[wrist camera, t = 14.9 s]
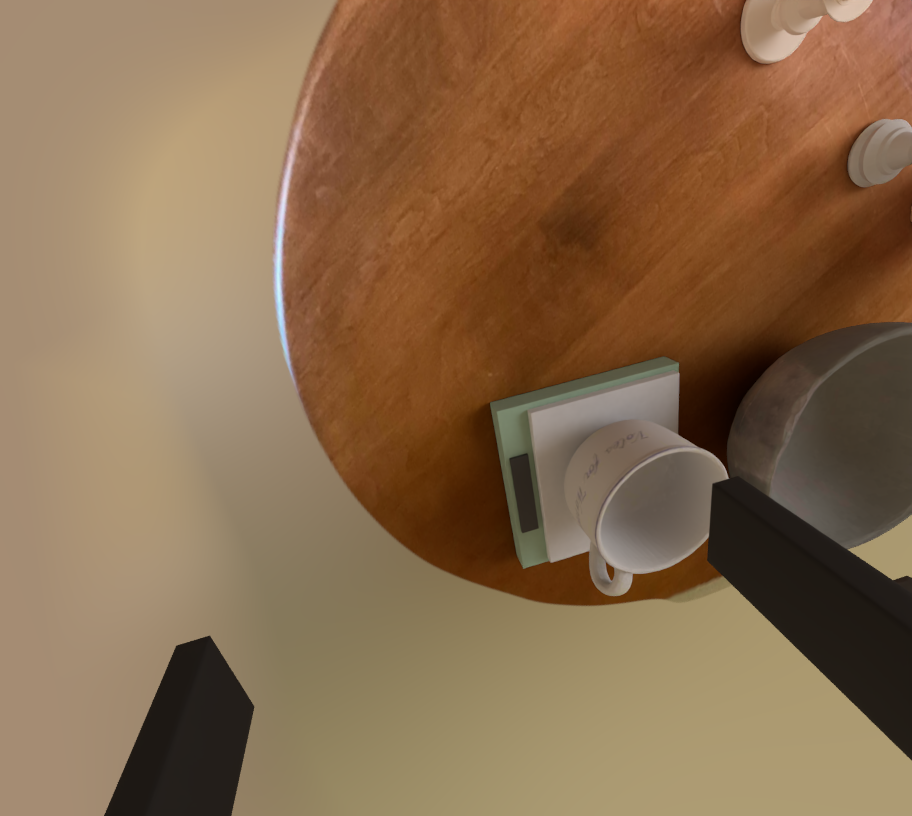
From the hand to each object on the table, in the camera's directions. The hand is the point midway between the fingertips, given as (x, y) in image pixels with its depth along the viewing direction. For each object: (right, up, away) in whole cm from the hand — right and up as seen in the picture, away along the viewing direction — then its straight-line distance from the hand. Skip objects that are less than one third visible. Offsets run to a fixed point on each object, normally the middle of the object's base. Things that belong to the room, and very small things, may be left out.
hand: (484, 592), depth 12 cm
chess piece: (+32, +25, +24) cm, 47 cm away
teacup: (+12, -1, +28) cm, 30 cm away
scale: (+11, 0, +30) cm, 32 cm away
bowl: (+31, +5, +32) cm, 45 cm away
